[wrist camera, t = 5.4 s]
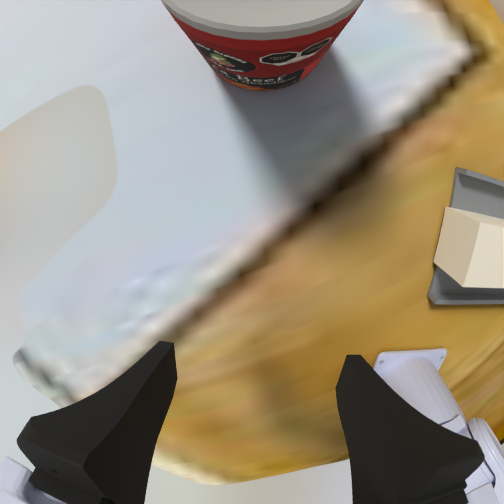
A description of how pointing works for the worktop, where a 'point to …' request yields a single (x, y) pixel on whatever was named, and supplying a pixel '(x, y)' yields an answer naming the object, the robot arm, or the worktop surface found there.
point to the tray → (478, 201)
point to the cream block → (472, 248)
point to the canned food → (262, 36)
